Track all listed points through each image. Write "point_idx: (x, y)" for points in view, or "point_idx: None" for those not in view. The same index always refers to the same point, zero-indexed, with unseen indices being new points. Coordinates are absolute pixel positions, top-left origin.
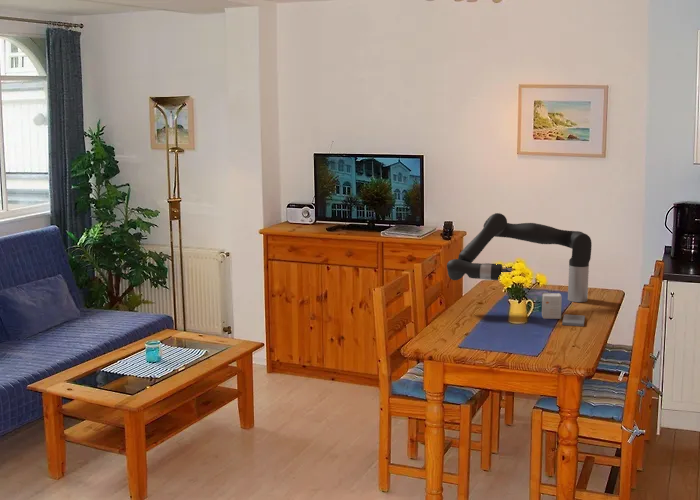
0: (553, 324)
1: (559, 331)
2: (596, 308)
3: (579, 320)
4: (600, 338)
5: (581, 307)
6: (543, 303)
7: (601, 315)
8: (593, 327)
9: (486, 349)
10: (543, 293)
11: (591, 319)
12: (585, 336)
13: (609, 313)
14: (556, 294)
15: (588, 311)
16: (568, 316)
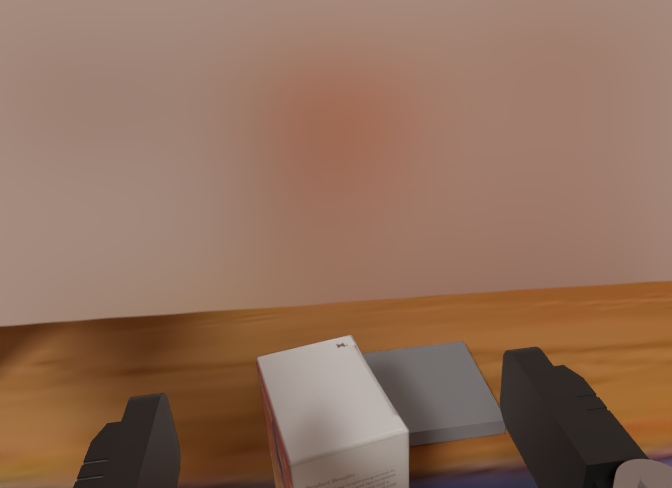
0: (527, 478)
1: (656, 419)
2: (68, 367)
3: (409, 363)
4: (608, 287)
5: (36, 424)
6: (405, 486)
7: (215, 334)
8: (453, 325)
9: None
10: (300, 451)
11: None
12: (630, 323)
13: (171, 319)
14: (309, 364)
15: (137, 384)
16: None
